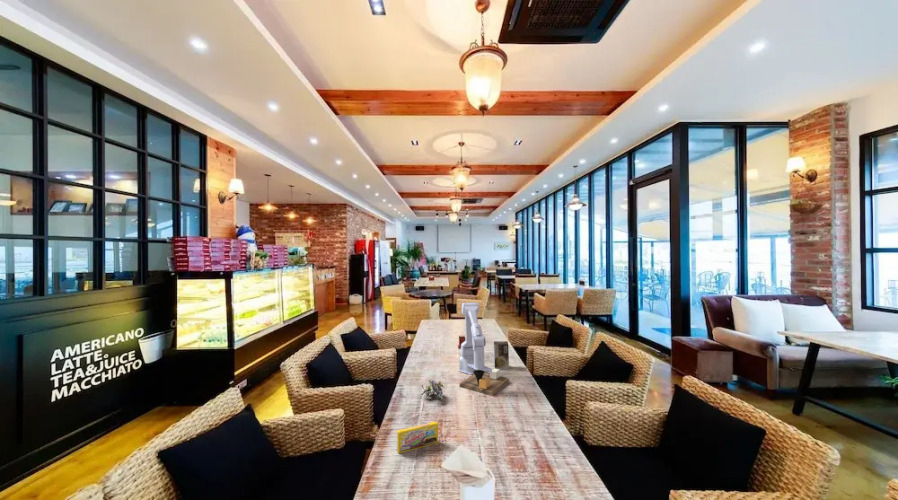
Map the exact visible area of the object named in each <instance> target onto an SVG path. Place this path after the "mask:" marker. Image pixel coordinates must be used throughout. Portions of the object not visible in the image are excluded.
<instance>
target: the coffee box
mask: <svg viewBox="0 0 898 500" xmlns="http://www.w3.org/2000/svg"><path fill="white" fill-rule="evenodd" d="M509 355H510V351H509V342H508V341H507V340H505V341H504V340H501V341H500V340H499V341H498V340H496V341H495V340H494V341H493V359H494V360H493V362H494V363H493V364H494V365H493V366H494V368H495V369H500V370H509V369H510V357H509Z"/></svg>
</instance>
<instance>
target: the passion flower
mask: <svg viewBox="0 0 898 500" xmlns="http://www.w3.org/2000/svg"><path fill="white" fill-rule="evenodd" d="M428 383H429V384H430V386H427V388H426V389H425V387H424V385H423V384H422V385H421V388H422V389H423V392H422V393H421V396H423V395H424V394H425V398H424V399H425V400H426V399H427V397H429V395H430V394H431V393H432V394H435V393H436V397H437V399H438V400H439V401H440V400H443V396H442V395H443V390H444V389H443V388H444V385H443V383H442V382H441V380H439V381H438V382H437V381H435V380H431V379H429V380H428Z"/></svg>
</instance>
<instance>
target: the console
mask: <svg viewBox="0 0 898 500" xmlns="http://www.w3.org/2000/svg"><path fill="white" fill-rule="evenodd" d="M483 377H487V378H490V373H489V372H484V374H483ZM509 383H510V377H505V376H501V375H500V377H499V378H497V379H492V378H490V386H489V387H488V388H487V389H483V388H480V387H479V384H478V382H477V379H476V376H475V374H474V373H473V374H471V375H470V376H468V377H467V378H465V379H464V380H462V381H460V382H459V388H463V389H466V390H468V391H469V390H470V391H473V392H477V393H480V394H483V395H488V396H491V397H493V396H494V395H495V394H497V392H499V391H500V390H501V389H502V388H504V387H505V386H506V385H507V384H509Z"/></svg>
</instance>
